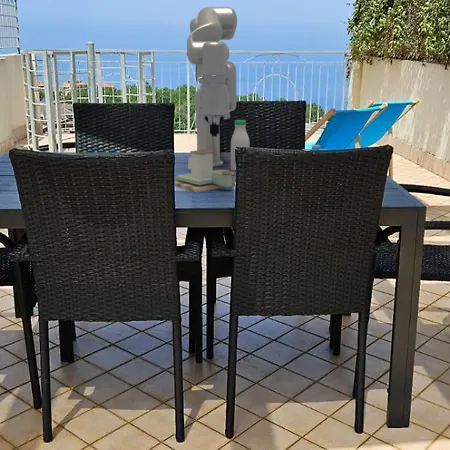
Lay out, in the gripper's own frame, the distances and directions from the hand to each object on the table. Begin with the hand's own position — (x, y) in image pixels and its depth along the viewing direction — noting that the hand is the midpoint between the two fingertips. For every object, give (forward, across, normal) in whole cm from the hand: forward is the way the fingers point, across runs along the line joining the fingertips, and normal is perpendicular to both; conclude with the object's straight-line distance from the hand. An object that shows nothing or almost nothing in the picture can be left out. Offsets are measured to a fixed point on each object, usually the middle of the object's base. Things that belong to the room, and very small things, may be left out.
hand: (214, 135), depth 209 cm
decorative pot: (+19, +35, +17) cm, 44 cm away
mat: (+19, -2, +29) cm, 34 cm away
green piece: (+17, -3, +6) cm, 19 cm away
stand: (+19, -6, +9) cm, 22 cm away
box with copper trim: (+16, -7, +10) cm, 20 cm away
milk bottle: (+19, +6, +38) cm, 43 cm away
